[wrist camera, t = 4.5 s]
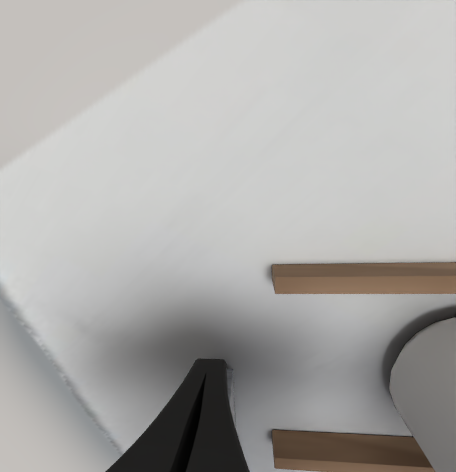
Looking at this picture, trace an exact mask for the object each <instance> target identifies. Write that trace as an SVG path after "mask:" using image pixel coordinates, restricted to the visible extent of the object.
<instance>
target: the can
mask: <svg viewBox="0 0 456 472" xmlns="http://www.w3.org/2000/svg"><path fill="white" fill-rule="evenodd" d="M389 390H390V393H391V396H392V399H393V402H394V405H395V408H396V409H397V411H398V412H399V414H400V416H401V417H402V419H403V420H404V422H405V424H406V425H407V427H408V428H409V430H410V432H411V433H412V435H413V436H414V438H415V440H416V441H417V443H418V444H419V446H420V448H421V449H422V451H423V452H424V454H425V456H426V457H427V459H428V461H429V462H430V464H431V465H432V467H433V469H434V470H435V472H456V317H453V318H450V319H446V320H442V321H439V322H435V323H433V324H431V325H430V326H428V327H426V328H424V329H422V330H421V331H419V332H417V333H416V334H415V335H414V336H413V337H412V338H411V339H410V340H409V341H408V342H407V343H406V344H405V345H404V347H403V349H402V351H401V352H400V354H399V356H398V358H397V360H396V362H395V364H394V366H393V368H392V370H391V378H390V387H389Z"/></svg>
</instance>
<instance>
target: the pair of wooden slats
mask: <svg viewBox="0 0 456 472" xmlns="http://www.w3.org/2000/svg"><path fill="white" fill-rule="evenodd" d="M272 281H273V286H274V290H275V294H456V262H450V263H366V264H282V265H272ZM272 443H273V455H274V467H275V468H276V469H291V470H306V471H321V472H435V470H434V469H433V467H432V465H431V464H430V462H429V461H428V459H427V457H426V456H425V454H424V452H423V451H422V449H421V448H420V446H419V444H418V443H417V441H416V440H415V438H414V437H399V436H380V435H361V434H342V433H323V432H303V431H284V430H272Z"/></svg>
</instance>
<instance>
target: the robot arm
mask: <svg viewBox="0 0 456 472" xmlns="http://www.w3.org/2000/svg"><path fill="white" fill-rule="evenodd" d="M106 472H250V471H249V469H248V466H247V463H246V460H245V457H244V454H243V451H242V449H241V445H240V442H239V439H238V436H237V432H236V428H235V425H234V421H233V417H232V413H231V408H230V404H229V398H228V385H227V366H226V361H225V360H223V359H197V360H196V361H195V363H194V365H193V366H192V368H191V370H190V371H189V373H188V375H187V376H186V378H185V379H184V381H183V382H182V384H181V385H180V387H179V388H178V390H177V391H176V392H175V394H174V395H173V397H172V398H171V399H170V401H169V402H168V403H167V405H166V406H165V407H164V409H163V410H162V411H161V412H160V414H159V415H158V416H157V418H156V419H155V420H154V421H153V422H152V424H151V425H150V426H149V427H148V428H147V430H146V431H145V432H144V433H143V434H142V435H141V436H140V437H139V439H138V440H137V441H136V442H135V443H134V444H133V445H132V446H131V447H130V448H129V449H128V450H127V451H126V452H125V453H124V454H123V455H122V456H121V457H120V458H119V459H118V460H117V461H116V462H115V463H114V464H113V465H112V466H111V467H110V468H109V469H108V470H107V471H106Z"/></svg>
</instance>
